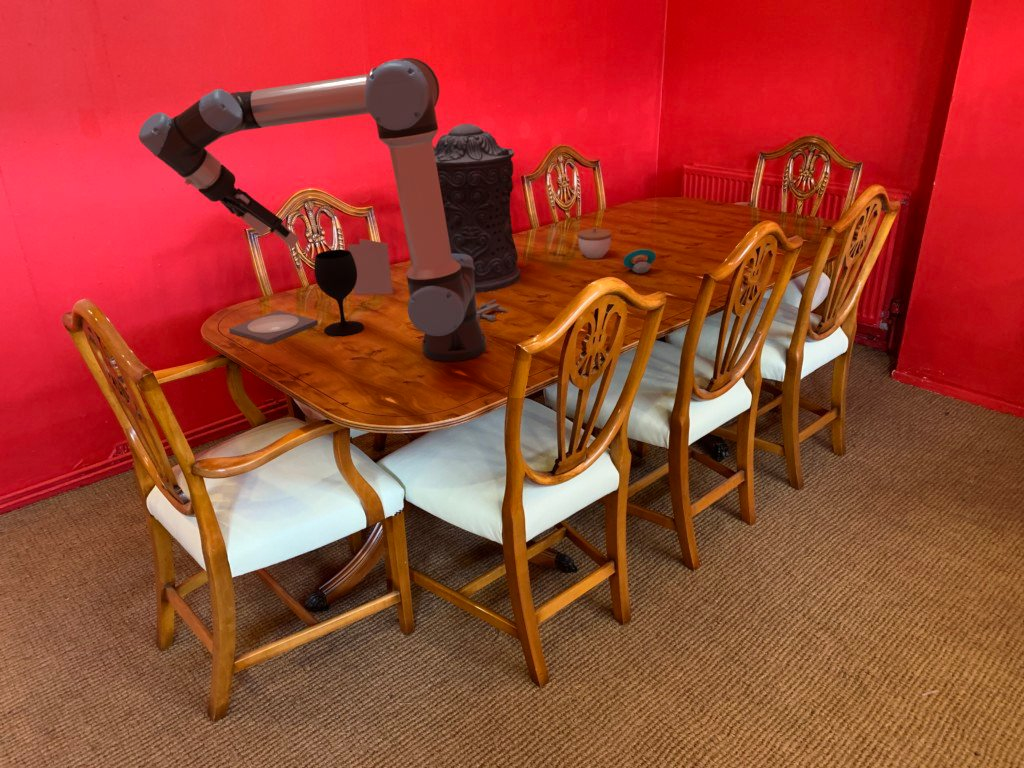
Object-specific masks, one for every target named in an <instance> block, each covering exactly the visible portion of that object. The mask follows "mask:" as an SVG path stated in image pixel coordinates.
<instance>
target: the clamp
mask: <svg viewBox="0 0 1024 768" xmlns="http://www.w3.org/2000/svg"><path fill="white" fill-rule="evenodd" d="M496 302H497V300H496V298H494V299H492V300H491V301H489V302H487V303H486V302H482V303H481V305H480V306H476V311H477V319H478V321H480V322H481V319H482V318H483V319H485V320H487V321H491V322H494V321H495V322H496V320H497V316H496V315H492V314H490V315H489V314H485V313H486V312H489V311H491V310H494V311H493V312H499V311H500V312H506V313H507V312H508V310H509V309H505V308H504V307H500V303H496ZM481 308H482V309H481ZM498 310H499V311H498ZM481 317H482V318H481Z"/></svg>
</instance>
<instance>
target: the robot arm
mask: <svg viewBox="0 0 1024 768" xmlns="http://www.w3.org/2000/svg"><path fill="white" fill-rule="evenodd" d="M439 97H440V83H439V79H438V77H437V75H436V73H435V71H434V70H433V69H432V68H431V66H429V64H427V63H426V62H424V61H423V60H420V59H419V58H413V57H405V58H400V59H399V58H398V59H392V60H389V61H388V60H387V61H385V62H384V63H381V64H380V65H378V66H377V67H372V68H371V70H369V72H368V73H365V74H359V75H353V76H352V75H351V76H346V77H339V78H331V79H325V80H323V79H322V80H318V81H311V82H304V83H297V84H289V85H283V86H282V85H281V86H275V87H269V88H262V89H255V90H247V91H236V92H231V93H230V92H228V91H225V90H224V89H222V88H217V89H214V90H212V91H211V92H209V93H207V94H204V95H203V96H202V97H201V98H200V99H198V100H197V101H196V102H194V103H193V104H192V105H191V106H189V107H188V108H186V109H185V110H184V111H182V112H180V113H179V114H178V115H176V116H174V117H170V116H169V115H167V114H166V113H164V112H157V113H154V114H152V115H151V116H149V117H148V118H147V119H146V120H145V121H144V123H143V124H142V125H141V127H140V129H139V131H138V132H139V133H138V140H139V142H140V143H141V144H142V145H143V146H144V147H145V148H146V149H148V150H149V151H150V152H151V153H152V155H153V156H154V157H157V158H158V159H159V160H160V161H162V162H163V163H164V164H166V166H168V167H169V168H171V169H172V170H173V171H175V173H177V174H178V175H179V176H180V177H182V179H185V181H184V184H185V185H187V186H190V185H191V186H193V188H195V189H197V190H198V192H199V193H200V194H201V195H203V196H204V197H205V198H206V199H208V200H209V201H210V202H214V203H215V202H220V203H221V204H222V205H223V206H224V207H225V208H226V209H227V210H228V211H229V212H230V214H233V215H235V216H236V217H237V218H240V219H241V221H244V223H246V225H248V226H249V227H250V228H251V229H253V230H254V231H255V232H257V233H258V235H260V236H264V235H265V233H266V232H267V231H268V229H270V230H269V233H271V234H273V233H274V234H275V235H276V236H277V237H279V238H280V239H281V240H282V241H283V242H284V243H285V244H286V245H288V246H289V247H290V248H292V249H293V248H294V247H295V246H296V245H297V243H298V241H299V240H300V239H301V238H300V237H299V236H298V235H297V234H295V232H293V231H292V230H291V229H290V228H289V227H288V226H286V225H285V224H284V223H283V219H282V218H280V217H279V216H277V215H276V214H274V213H273V212H272V211H270V210H269V209H267V207H265V206H264V205H263V204H261V203H259V201H257V200H255V199H254V198H253V197H252V196H251V195H249V194H248V193H247V192H246V191H244V190H242V189H241V188H239V187H238V188H236V187H235V184H236V176H235V174H234V173H233V172H232V171H230V170H229V169H228V168H227V167H226V166H225V165H224V164H221V161H219V160H218V159H217V158H216V157H215V156H214V155H213V154H211V153H210V152H209V151H208V150H207V149H206V147H208V146H210V145H211V144H212V143H214V142H216V141H217V140H219V139H221V138H223V137H226V136H229V135H232V134H235V133H238V132H242V131H248V130H256V129H262V128H268V127H276V126H277V127H278V126H283V125H286V126H287V125H292V124H300V123H306V122H307V123H308V122H315V121H323V120H331V119H339V118H346V117H351V116H353V117H354V116H361V115H368V114H370V116H371V117H372V118H373V120H374V121H375V125H376V129H377V135H378V139H379V141H381V142H382V143H384V144H385V146H387V147H388V150H389V155H390V160H391V166H392V169H393V170H392V171H393V175H394V181H395V186H396V190H397V191H396V192H397V195H398V196H397V197H398V201H399V207H400V212H401V216H402V222H403V229H404V233H405V236H406V243H407V248H408V252H409V258H410V263H411V265H410V267H409V268H408V269H407V271H406V273H405V277H406V281H407V286H408V291H409V296H410V297H409V299H408V303H407V314H408V317H409V318H408V319H409V321H410V322H411V324H412V325H413V326H414V327H415V328H416V329H417V330H419V331H420V332H422V333H423V334H424V336H423V340H422V353H423V355H424V356H425V357H426V358H428V359H431V360H433V361H438V362H461V361H465V360H470V359H473V358H476V357H478V356H480V355H482V354H483V353H484V352H485V351H486V349H487V338H486V336H485V334H484V333H483V330H482V327H481V324H480V322H479V321H478V319H477V311H478V310H477V297H476V295H477V294H476V293H475V280H474V269H475V267H474V265H473V259H472V257H471V256H469V255H466V254H451V249H450V243H449V237H448V231H447V225H446V219H445V213H444V207H443V201H442V195H441V190H440V184H439V178H438V172H437V166H436V160H435V154H434V148H433V146H434V143H433V142H434V141H433V140H434V138H435V137H436V135H437V133H438V132H439V127H438V126H439V125H438V119H437V114H436V108H435V107H436V105H437V104H438V102H439Z"/></svg>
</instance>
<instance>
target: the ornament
mask: <svg viewBox="0 0 1024 768" xmlns="http://www.w3.org/2000/svg"><path fill="white" fill-rule="evenodd" d="M646 257H647V258H646ZM632 259H633V262H632ZM656 259H657V255H656V252H655V251H653V250H651V249H646V248H645V249H644V248H641V249H637V250H634V251H631V252H629V253H628V254H627V255H625V257H624V258H623V261H622V264H623V266H625V268H627V269H630V270H632V271H633V272H634V273H636V274H645V273H646V272H647V273H648V271H650V269H651V266H652V264H653V263H654V262H655V260H656Z"/></svg>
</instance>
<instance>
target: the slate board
mask: <svg viewBox="0 0 1024 768" xmlns="http://www.w3.org/2000/svg"><path fill="white" fill-rule="evenodd" d="M318 325H319V323H318V320H317V319H314V318H311V317H306V316H302V315H298V314H295V313H291V312H287V311H283V310H275V311H272V312H270V313H267V314H264V315H262V316H259V317H256V318H254V319H250V320H248V321H245V322H243V323H240V324H236V325H235V326H232V327H229V328H228V331H229V333H230V334H233V335H235V336H236V335H237V336H240V337H243V338H246V339H250V340H253V341H257V342H260V343H263V344H266V345H271V344H274V343H275V342H278V341H280V340H281V341H282V340H283V339H285V338H288V337H291V336H293V335H296V334H298V333H300V332H302V331H306V330H308V329H310V328H313V327H315V326H318ZM295 333H296V334H295Z"/></svg>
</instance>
